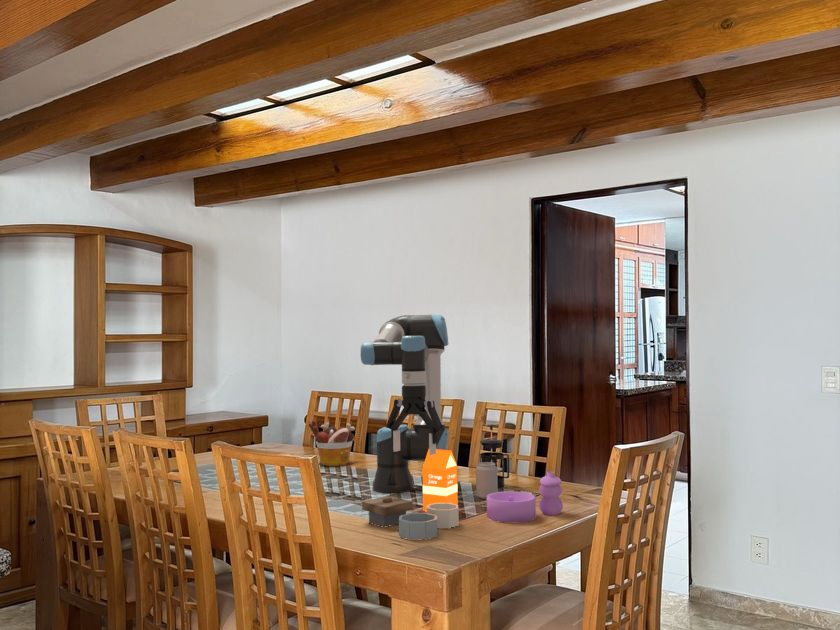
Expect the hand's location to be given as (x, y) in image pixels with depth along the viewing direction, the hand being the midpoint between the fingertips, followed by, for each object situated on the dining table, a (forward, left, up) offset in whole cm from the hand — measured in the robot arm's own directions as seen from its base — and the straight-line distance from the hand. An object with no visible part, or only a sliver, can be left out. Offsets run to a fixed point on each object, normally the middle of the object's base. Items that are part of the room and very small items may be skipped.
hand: (414, 452), depth 243 cm
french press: (-15, +54, -21) cm, 60 cm away
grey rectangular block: (-3, -9, -21) cm, 23 cm away
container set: (+22, +27, -21) cm, 41 cm away
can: (-4, +38, -21) cm, 44 cm away
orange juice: (-2, +13, -21) cm, 25 cm away
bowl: (+11, +1, -21) cm, 23 cm away
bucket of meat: (-97, +41, -21) cm, 107 cm away
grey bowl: (+14, -12, -21) cm, 28 cm away
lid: (-3, -9, -17) cm, 19 cm away
